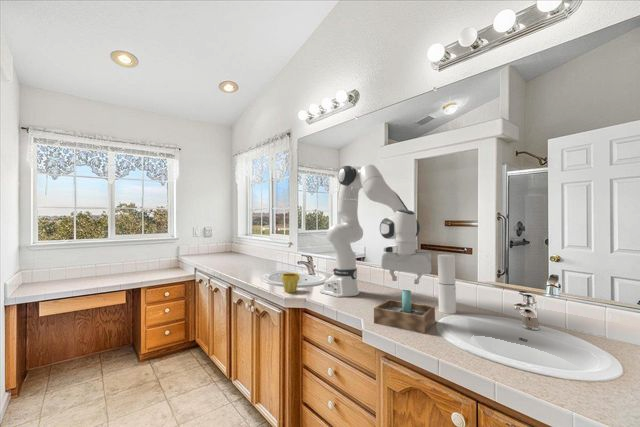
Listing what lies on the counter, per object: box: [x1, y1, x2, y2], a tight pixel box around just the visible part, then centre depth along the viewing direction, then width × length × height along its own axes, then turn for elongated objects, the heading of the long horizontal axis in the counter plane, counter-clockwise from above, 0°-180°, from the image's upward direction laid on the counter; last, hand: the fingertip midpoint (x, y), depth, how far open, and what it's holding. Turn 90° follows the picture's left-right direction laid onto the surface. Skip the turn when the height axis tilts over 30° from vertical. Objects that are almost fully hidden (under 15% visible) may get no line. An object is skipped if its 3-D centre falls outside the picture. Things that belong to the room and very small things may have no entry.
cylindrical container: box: [437, 254, 457, 315], centre depth 135 cm, size 7×7×25 cm
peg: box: [401, 289, 412, 314], centre depth 124 cm, size 4×4×12 cm
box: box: [373, 299, 436, 334], centre depth 122 cm, size 20×15×6 cm
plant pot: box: [281, 272, 300, 294], centre depth 176 cm, size 10×10×10 cm
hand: (405, 282), depth 125 cm, fingers open, 8 cm apart
